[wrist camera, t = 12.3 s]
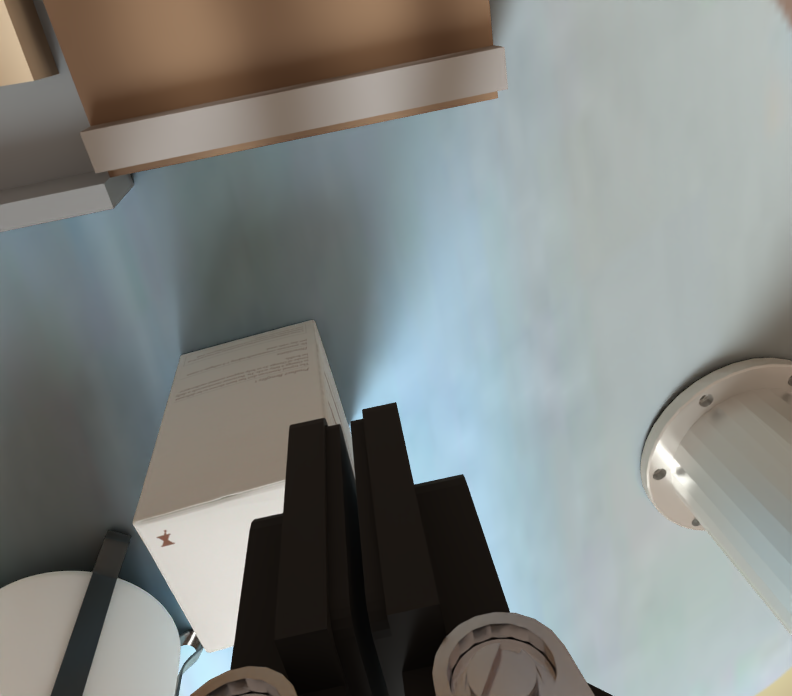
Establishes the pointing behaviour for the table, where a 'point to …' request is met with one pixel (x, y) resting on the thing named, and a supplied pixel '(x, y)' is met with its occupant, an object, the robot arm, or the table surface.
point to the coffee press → (89, 634)
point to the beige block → (23, 44)
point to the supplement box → (228, 463)
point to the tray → (49, 150)
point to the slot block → (263, 70)
